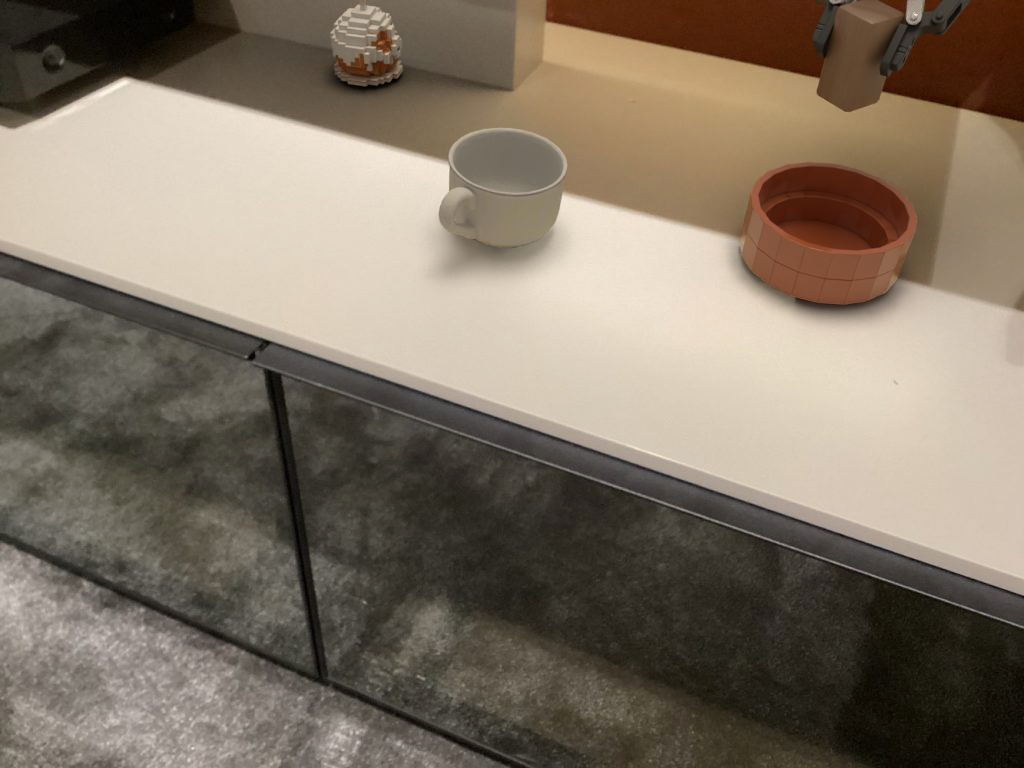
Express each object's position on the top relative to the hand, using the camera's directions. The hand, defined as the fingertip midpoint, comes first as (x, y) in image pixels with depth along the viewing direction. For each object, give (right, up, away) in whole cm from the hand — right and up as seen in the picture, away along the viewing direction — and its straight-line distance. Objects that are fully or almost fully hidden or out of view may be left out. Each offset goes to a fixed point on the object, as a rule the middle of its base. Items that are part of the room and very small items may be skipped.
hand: (851, 62), depth 80 cm
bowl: (0, -15, +10) cm, 18 cm away
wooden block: (+1, -2, +4) cm, 5 cm away
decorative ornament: (-45, +10, +34) cm, 57 cm away
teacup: (-30, -13, +12) cm, 35 cm away
